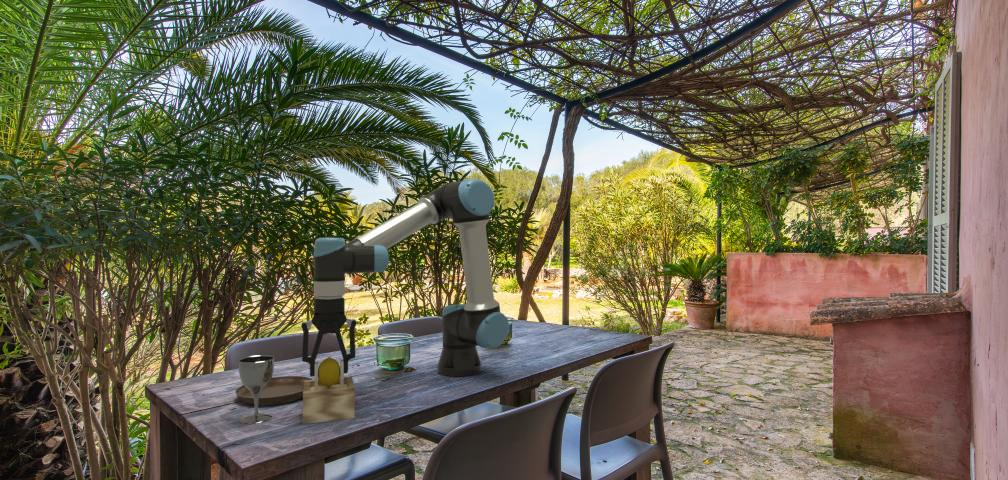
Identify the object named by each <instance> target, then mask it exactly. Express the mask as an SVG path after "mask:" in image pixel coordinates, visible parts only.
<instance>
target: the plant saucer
mask: <svg viewBox="0 0 1008 480" xmlns="http://www.w3.org/2000/svg"><path fill="white" fill-rule="evenodd" d="M305 380H314V379H313V378H312V377H311V378H310V377H307V376H299V375H287V376H284V375H283V376H274V377H273V376H272V378H271V380H270V382H269V383H268V384H267V386H266V387H265V388H264V389H263V390H262V392H261V394H260V396H259V403H258V406H272V405H280V404H281V405H282V404H286V403H291V402H293V401H297V400H300V399H301V398H302V399H303V389H304V381H305ZM235 395H236V396H237V397H238V399H240V401H242V402H243V403H245V404H247V403H248V405H251V404H252V405H253V406H255V404H254V397H253V395H252V393H251V392H250V391H249V390H248V389H247V388H246V387H245V386H244V385H243V384H241V386H239V387H237V388H236V389H235Z"/></svg>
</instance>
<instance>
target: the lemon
mask: <svg viewBox="0 0 1008 480" xmlns="http://www.w3.org/2000/svg"><path fill="white" fill-rule="evenodd" d="M339 378H340V362H338V360H337V359H335V358H333V357H330V356H328V357H326V358H325V359H323V360H322V361H321V362H320V364H318V379H319V381H320V383H321V384H322V385H324V386H326V387H327V388H331V386H332V385H334V384H335V383H337V381H338V380H339Z"/></svg>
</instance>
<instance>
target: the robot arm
mask: <svg viewBox="0 0 1008 480" xmlns="http://www.w3.org/2000/svg"><path fill="white" fill-rule="evenodd" d="M495 200H496V199H495V194H494V192H493V189H492V187H491V186H490V185H489V184H488V183H487V182H485V180H483V179H479V178H467V179H463V180H458V181H450V182H447V183H444V184H442V185H441V186H439V187H437V188H435V189H433V191H430V192H428V193H427V194H426V195H424V196H422V197H420V198H419V199H418V201H417V203H416V204H415V205H413V206H410V207H409V208H407V209H405V210H404V211H402V212H399V214H397V215H395V216H392V217H391V218H389V219H388V220H386V221H384V222H383V223H380V224H378V225H377V226H375V227H373V228H372V229H370V230H369V231H366V232H364V233H363V234H361V235H359V236H357V237H355V238H354V239H352V240H351V241H349V242H346V241H345V239H344V238H343V237H318V238H316V239H315V241H314V247H313V274H314V275H313V277H314V278H313V296H314V297H315V298H314V299H313V315H312V316H313V317H311V320H308V321H302V322H301V324H300V326H301V329H302V332H303V333H302V334H303V336H302V338H303V339H302V354H301V356H302V358H301V360H302V362H303V363H307V364H309V376H310V377H314V380H315V390H318V368H319V362H318V361H316V359H317V357H318V353H319V350H320V347H321V343H322V339H323V336H324V335H327V334H335V337H336V339H337V343H338V347H339V349H340V350H339V351H340V353H341V356H342V359H340V360H339V361H340V362H339V366H340V388H342V387H344V377H345V376H344V374H348V373H349V361H350V360H351V359H355V357H356V338H355V337H356V335H355V334H356V332H355V330H356V326H357V323H358V322H357V320H356V319H354V318H352V319H351V318H348V317H347V316H346V312H345V311H346V309H345V305H346V304H345V301H346V299H345V298H344V296H345V293H346V292H345V291H346V290H345V287H346V285H345V284H346V281H345V280H346V277H345V276H346V274H347V275H348V274H371V273H373V274H376V273H383V272H384V271H386V270H387V268H388V266H389V263H390V259H389V258H390V254H389V251H388V249H389V248H391V247H394V246H395V245H396V244H398V243H400V242H401V241H403V240H404V239H406V238H408V237H410V236H411V235H413V234H415V233H416V232H418V231H420V230H421V229H423V228H424V227H426V226H428V225H429V224H431V225H435V224H437V223H439V222H441V221H443V220H447V219H451V218H452V222H453V225H454V226H455V227H456V228H457V229H458V232H459V242H460V248H461V249H460V250H461V257H462V264H463V273H464V281H465V290H466V291H465V292H466V298H467V299H466V300H467V303H463V304H452V305H450V304H449V305H445V306H444V307H443V310H442V317H441V319H442V350H441V353H440V356H439V360H438V362H437V373H438V374H440V375H443V376H446V377H447V376H448V377H465V376H466V377H467V376H473V375H478V374H479V373H481V372H482V363H481V362H482V361H481V358H480V356H479V352H478V349H477V347H480V348H482V349H483V348H484V349H485V348H486V349H494V348H498V347H499V346H501V345H502V344H503V343H504V342H505V339H506V338H507V336H508V334H509V332H510V330H509V329H510V323H509V319H508V317H507V316H506V315H505V314H504V313H503V312H501V306H500V302H499V301H497V300H496V299H495V296H494V287H493V286H494V285H493V278H492V270H491V263H490V262H491V261H490V253H489V245H488V236H487V228H486V225H487V224H488V223H489V221H490V213H491V212H492V211H493V208H494V206H495V202H496V201H495ZM345 323H346V325H347V327H348V328H349V329H348V330H349V331H348V333H349V335H348V336H349V337H348V338H349V353H348V352H347V349H346V347H345V344H344V340H343V336H342V332H341V330H342V328H343V326H344V325H345ZM312 325H313V326H314V327H315V328H316V330H317V335H316V339H315V342H314V344H313V350H312V353H311V356H309V338H310V337H309V336H310V335H309V334H310V332H309V331H310V330H311V329H312Z"/></svg>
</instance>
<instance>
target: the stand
mask: <svg viewBox="0 0 1008 480" xmlns="http://www.w3.org/2000/svg"><path fill="white" fill-rule="evenodd" d="M355 393H356V391H355V384H354V380H353V376H352V375H351V376H344V387H342V388H340V378H339V380H338V381H337V383H335V384H334V385H332V386H331V388H327V387H326V386H324V385H322V384H321V383H320V381H319V379H318V390H315V379H313V380H305V381H304V389H303V397H302V425H308V424H314V423H315V424H316V423H324V422H333V421H341V420H349V419H350V420H351V419H355V407H356V405H355V404H356V403H355V401H356V399H355Z"/></svg>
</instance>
